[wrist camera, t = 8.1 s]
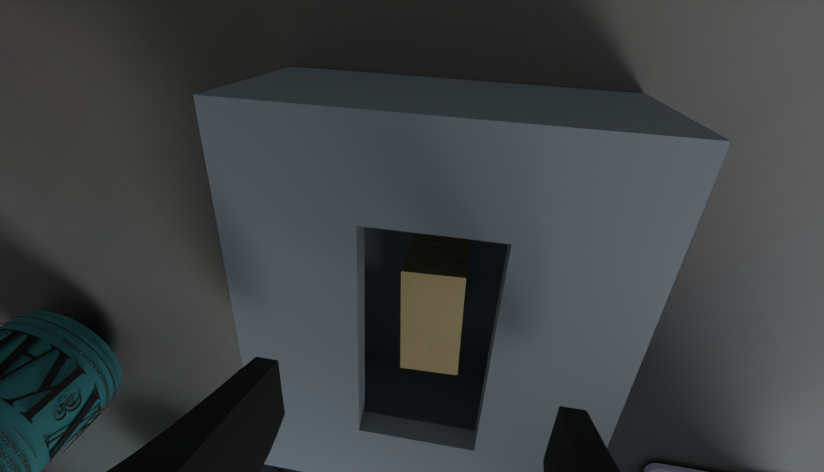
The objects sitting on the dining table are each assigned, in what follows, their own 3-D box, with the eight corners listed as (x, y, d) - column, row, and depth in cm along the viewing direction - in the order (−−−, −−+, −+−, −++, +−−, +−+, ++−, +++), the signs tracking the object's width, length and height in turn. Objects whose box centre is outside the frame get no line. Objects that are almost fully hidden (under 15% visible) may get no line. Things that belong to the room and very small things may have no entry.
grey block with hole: (555, 397, 21) (575, 524, 16) (313, 358, 22) (260, 463, 17) (644, 93, 14) (731, 141, 9) (291, 66, 15) (193, 94, 10)
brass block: (463, 305, 18) (457, 375, 15) (417, 300, 19) (400, 367, 15) (471, 221, 16) (466, 277, 13) (419, 216, 17) (400, 271, 13)
